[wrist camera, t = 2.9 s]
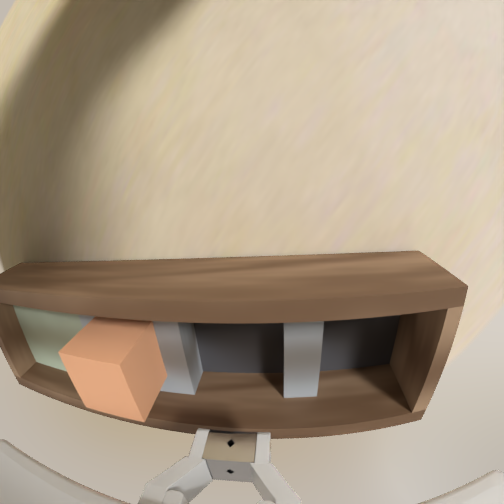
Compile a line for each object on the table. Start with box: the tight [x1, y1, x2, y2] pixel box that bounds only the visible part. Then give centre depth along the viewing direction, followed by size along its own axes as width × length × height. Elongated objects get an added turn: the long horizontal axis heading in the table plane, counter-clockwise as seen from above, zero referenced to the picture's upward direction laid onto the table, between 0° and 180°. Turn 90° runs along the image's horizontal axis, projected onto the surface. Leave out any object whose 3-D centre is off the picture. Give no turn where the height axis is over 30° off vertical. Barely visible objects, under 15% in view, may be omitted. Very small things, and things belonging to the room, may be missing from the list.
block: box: [58, 316, 167, 422], centre depth 13 cm, size 4×4×4 cm
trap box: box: [0, 251, 468, 439], centre depth 15 cm, size 9×30×6 cm, turn 93°
